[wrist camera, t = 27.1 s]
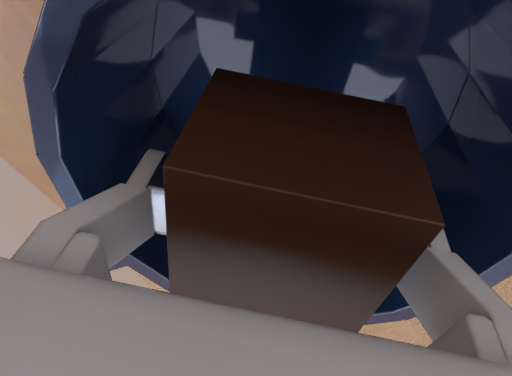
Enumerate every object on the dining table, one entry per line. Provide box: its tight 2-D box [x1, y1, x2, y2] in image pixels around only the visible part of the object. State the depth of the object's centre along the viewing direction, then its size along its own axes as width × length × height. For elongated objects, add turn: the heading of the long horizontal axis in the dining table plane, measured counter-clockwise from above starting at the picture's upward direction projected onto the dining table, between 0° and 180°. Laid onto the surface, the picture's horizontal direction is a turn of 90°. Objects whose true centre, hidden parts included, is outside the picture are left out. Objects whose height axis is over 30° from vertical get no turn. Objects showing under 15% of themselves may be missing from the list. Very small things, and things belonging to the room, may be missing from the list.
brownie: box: [163, 68, 445, 333], centre depth 10 cm, size 6×6×4 cm
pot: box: [23, 0, 512, 325], centre depth 13 cm, size 15×20×8 cm
